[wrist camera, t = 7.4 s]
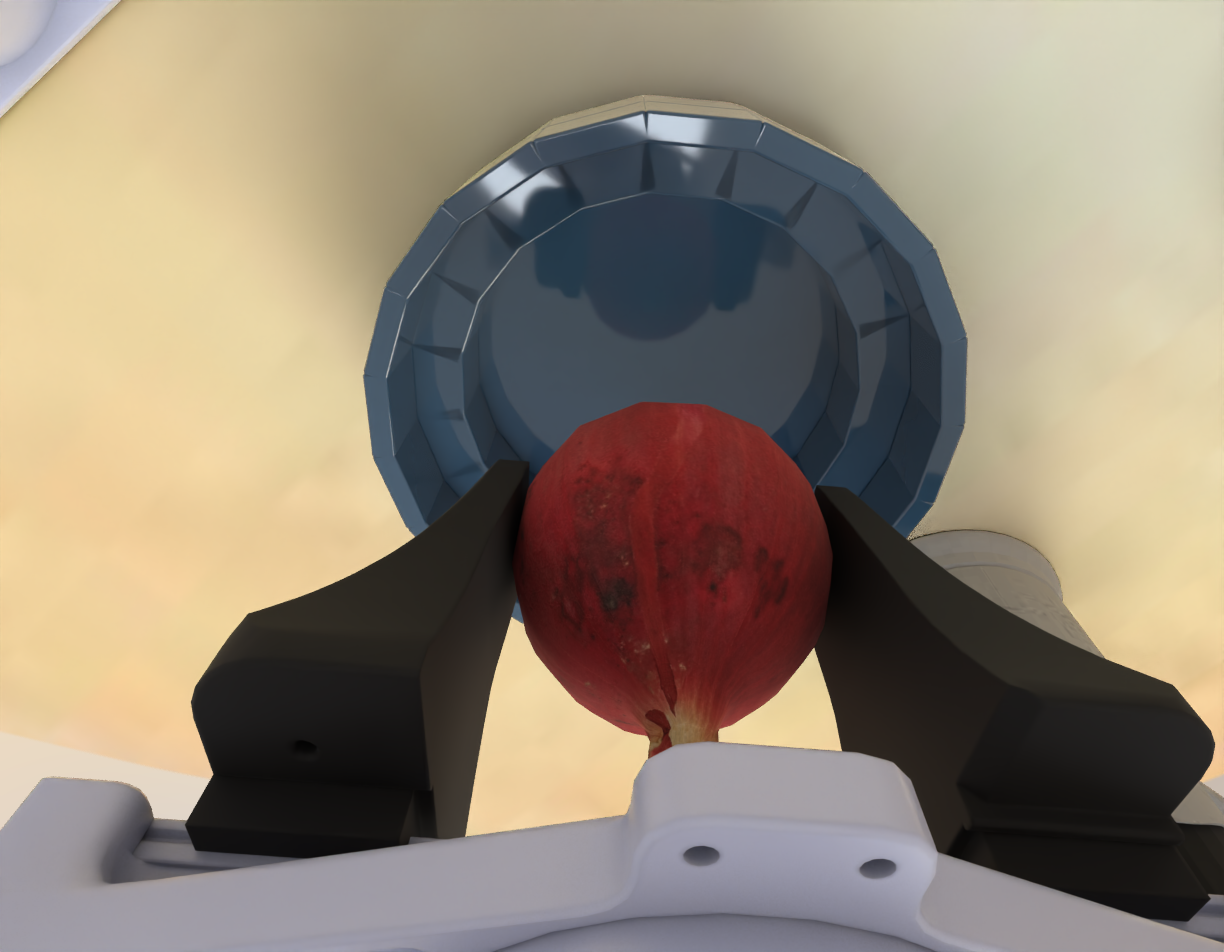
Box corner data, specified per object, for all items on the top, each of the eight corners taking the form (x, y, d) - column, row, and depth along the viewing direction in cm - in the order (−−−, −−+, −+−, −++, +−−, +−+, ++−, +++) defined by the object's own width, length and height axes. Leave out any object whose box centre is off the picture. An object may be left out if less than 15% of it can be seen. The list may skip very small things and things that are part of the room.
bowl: (316, 283, 21) (235, 345, 17) (774, -38, 17) (823, -65, 12) (584, 606, 27) (575, 710, 23) (964, 437, 23) (1038, 527, 19)
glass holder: (895, 503, 24) (1178, 1007, 12) (1236, 601, 26) (1795, 1126, 14) (788, 670, 29) (909, 1166, 16) (1086, 744, 31) (1402, 1239, 18)
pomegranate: (492, 403, 16) (381, 683, 9) (736, 295, 14) (825, 529, 7) (607, 585, 18) (589, 905, 12) (821, 509, 17) (945, 825, 10)
